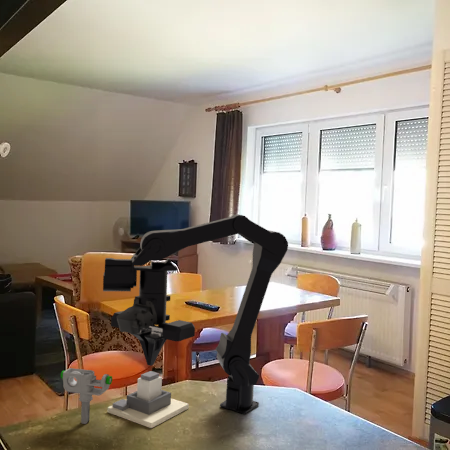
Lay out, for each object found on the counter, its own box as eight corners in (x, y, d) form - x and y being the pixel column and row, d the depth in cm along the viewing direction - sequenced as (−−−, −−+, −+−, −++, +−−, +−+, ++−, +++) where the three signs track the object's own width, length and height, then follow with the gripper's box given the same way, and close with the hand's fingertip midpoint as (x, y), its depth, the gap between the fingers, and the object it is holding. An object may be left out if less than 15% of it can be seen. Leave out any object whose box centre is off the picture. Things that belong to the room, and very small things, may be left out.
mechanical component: (105, 428, 98) (107, 377, 97) (57, 421, 100) (58, 371, 99) (112, 422, 101) (114, 372, 100) (65, 415, 103) (66, 367, 102)
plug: (149, 400, 109) (150, 369, 109) (160, 404, 108) (162, 373, 107) (136, 406, 106) (137, 374, 106) (148, 410, 104) (149, 378, 104)
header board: (146, 394, 115) (146, 379, 115) (188, 408, 109) (189, 392, 109) (107, 412, 105) (107, 395, 105) (151, 428, 99) (152, 410, 98)
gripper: (92, 290, 104) (90, 365, 105) (162, 303, 94) (159, 386, 95) (130, 284, 113) (128, 352, 114) (197, 295, 103) (194, 370, 104)
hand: (150, 365), depth 106 cm, fingers closed
